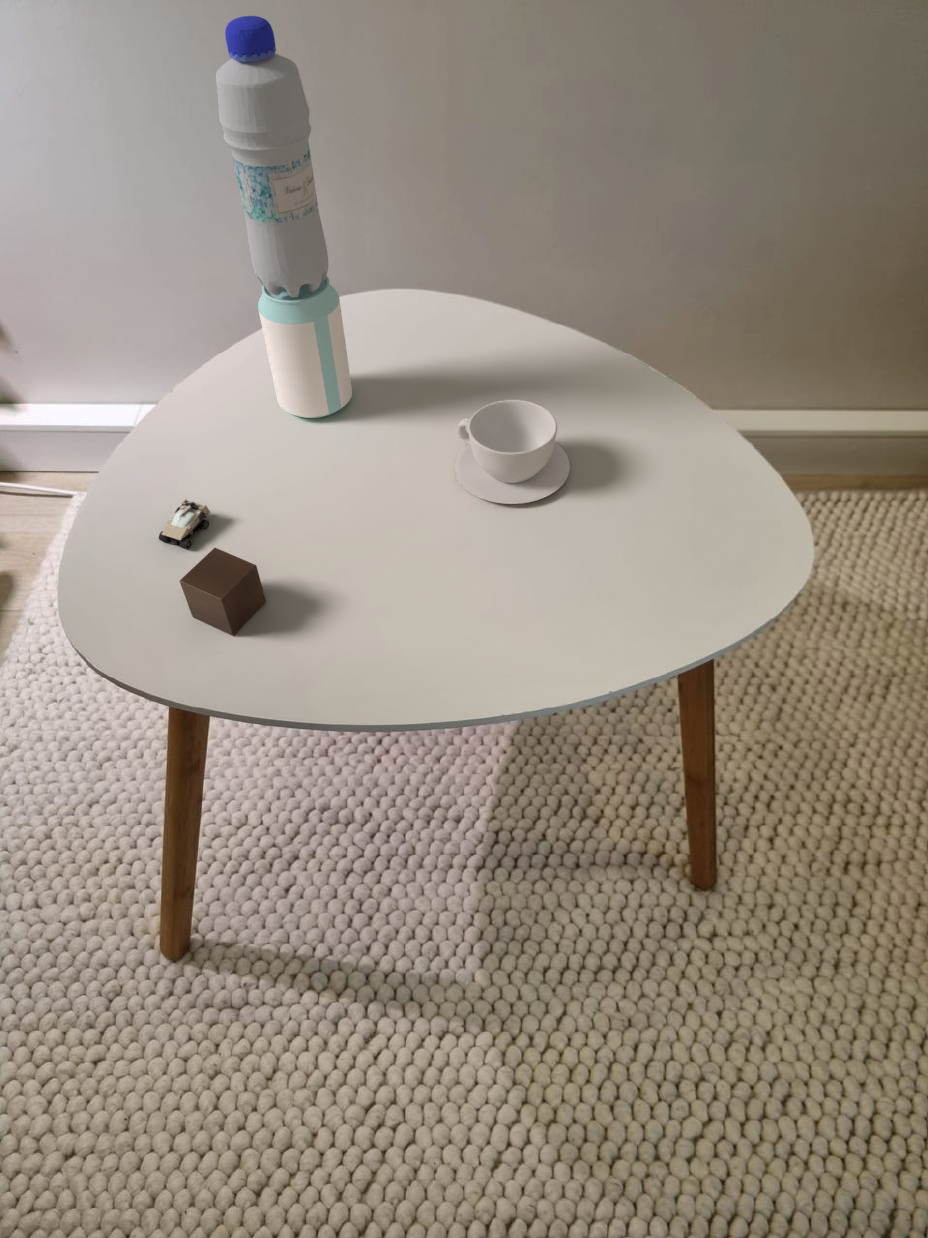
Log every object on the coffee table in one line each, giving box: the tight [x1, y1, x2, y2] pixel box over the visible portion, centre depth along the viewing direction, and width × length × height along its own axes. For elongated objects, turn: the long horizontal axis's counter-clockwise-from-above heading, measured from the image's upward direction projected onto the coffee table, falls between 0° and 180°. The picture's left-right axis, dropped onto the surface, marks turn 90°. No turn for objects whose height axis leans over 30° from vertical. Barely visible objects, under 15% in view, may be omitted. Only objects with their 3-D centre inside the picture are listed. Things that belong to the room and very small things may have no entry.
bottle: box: [215, 15, 329, 297], centre depth 74 cm, size 7×7×20 cm
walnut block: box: [179, 547, 267, 637], centre depth 71 cm, size 4×4×4 cm
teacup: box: [453, 399, 571, 505], centre depth 81 cm, size 10×10×5 cm
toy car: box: [158, 498, 211, 550], centre depth 78 cm, size 3×4×2 cm, turn 156°
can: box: [257, 275, 353, 419], centre depth 86 cm, size 7×7×12 cm
